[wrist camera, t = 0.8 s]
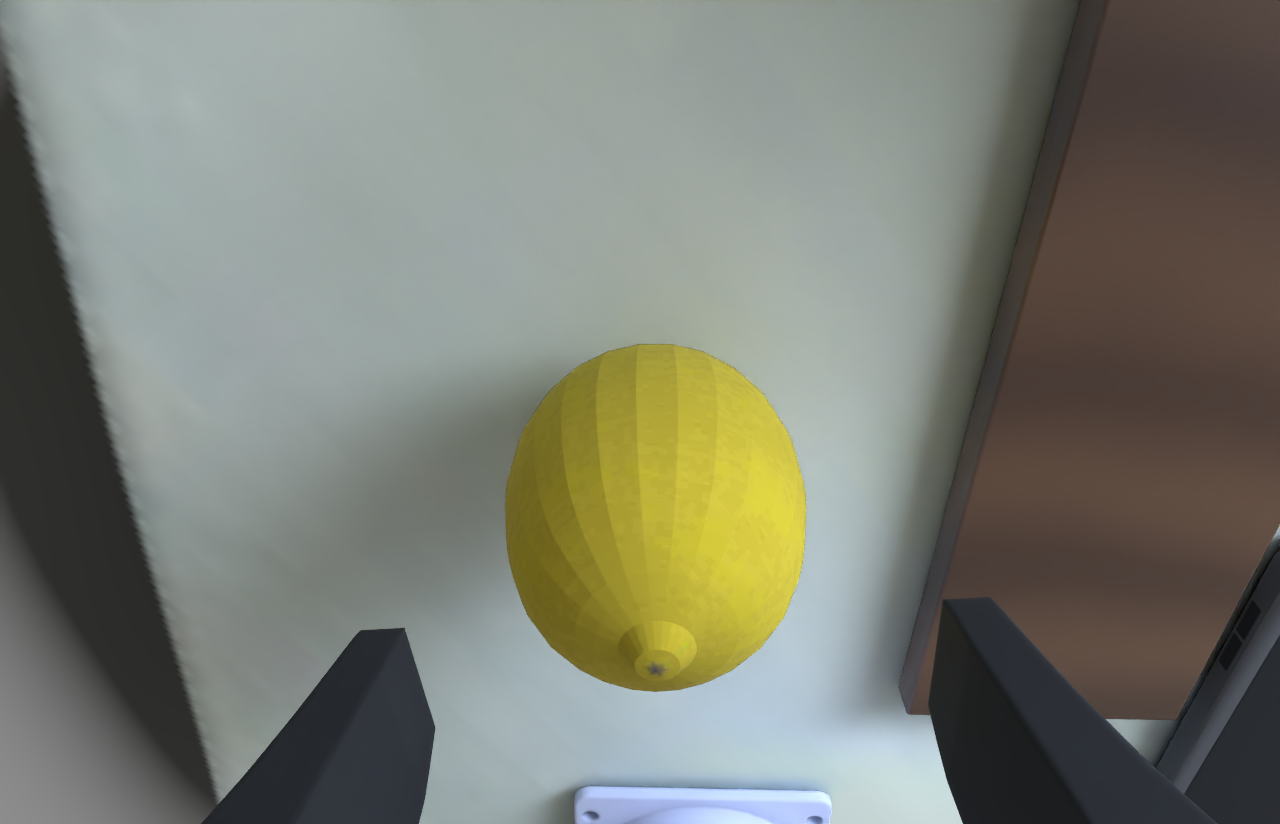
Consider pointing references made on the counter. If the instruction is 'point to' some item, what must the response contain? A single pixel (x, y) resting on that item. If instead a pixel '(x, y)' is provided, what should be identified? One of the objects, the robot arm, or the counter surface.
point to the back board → (1131, 364)
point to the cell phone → (1236, 720)
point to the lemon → (655, 518)
